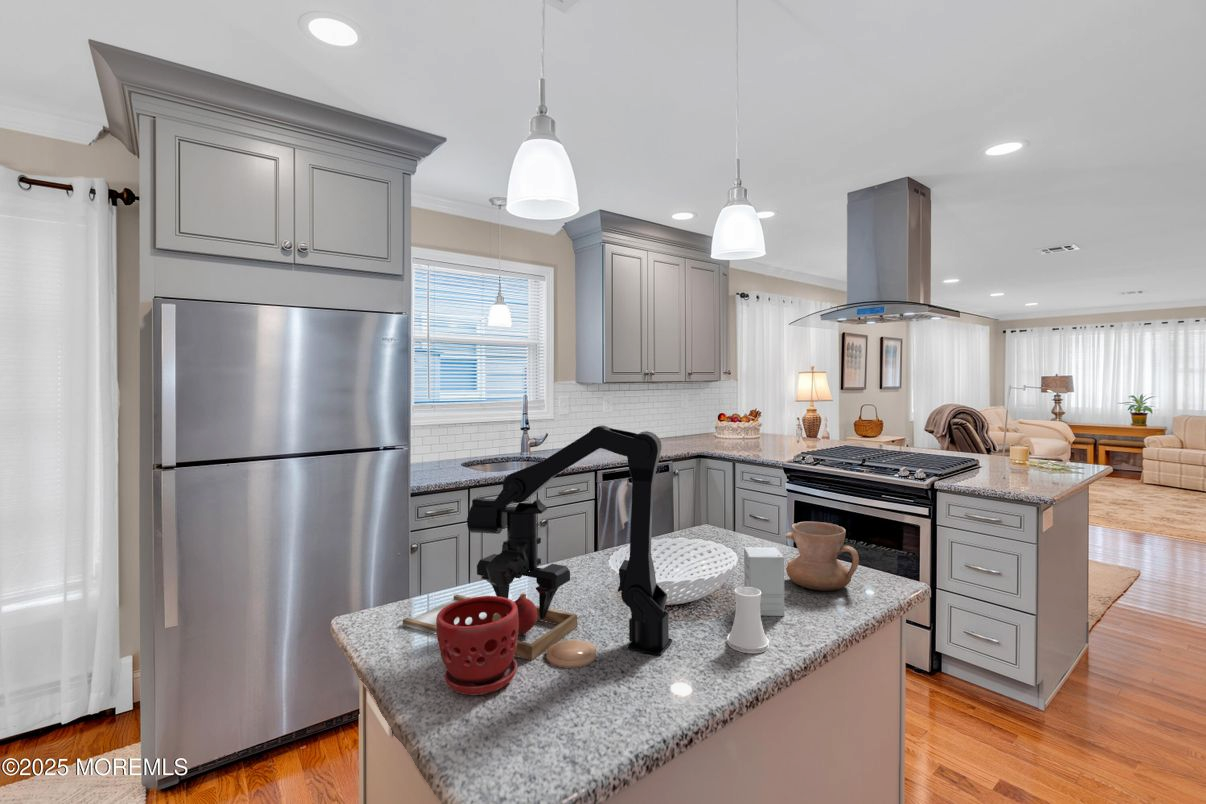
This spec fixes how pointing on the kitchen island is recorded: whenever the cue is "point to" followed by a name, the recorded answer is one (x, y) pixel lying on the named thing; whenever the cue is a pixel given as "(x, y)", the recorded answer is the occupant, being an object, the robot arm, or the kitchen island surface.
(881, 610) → the kitchen island surface
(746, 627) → the vase
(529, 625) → the onion
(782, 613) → the supplement box
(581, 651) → the saucer
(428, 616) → the wooden double frame
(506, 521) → the robot arm
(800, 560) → the ceramic jug
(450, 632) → the plant pot
